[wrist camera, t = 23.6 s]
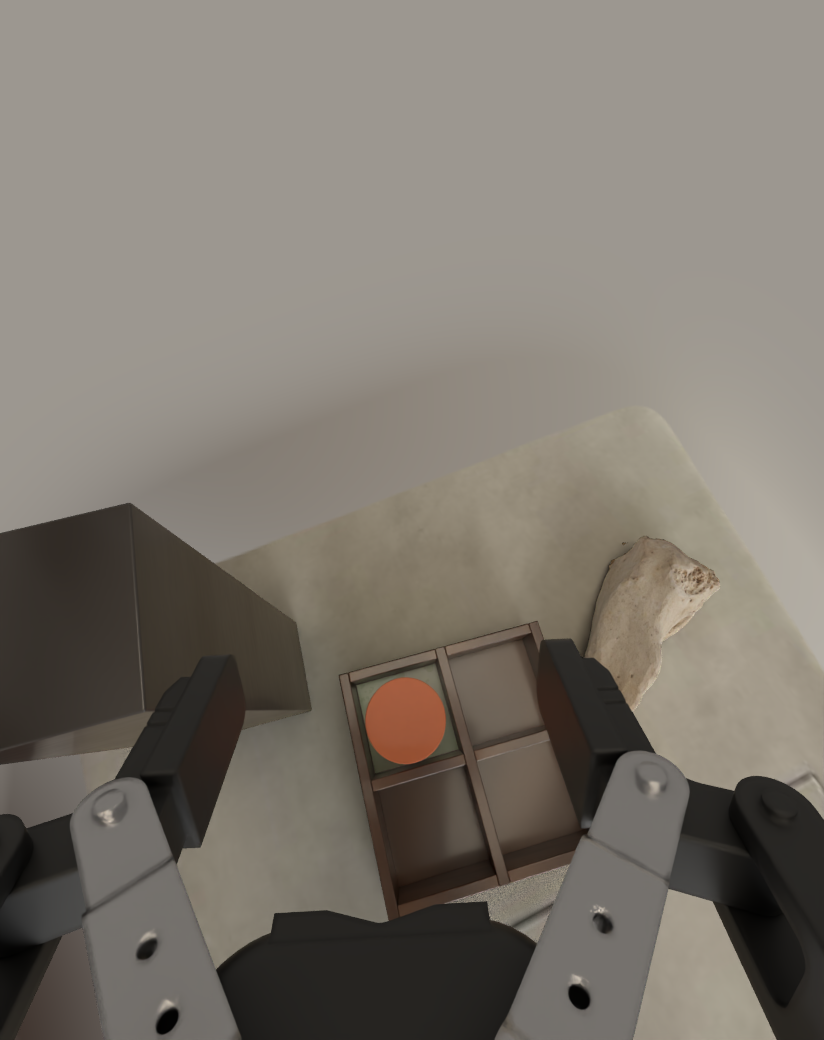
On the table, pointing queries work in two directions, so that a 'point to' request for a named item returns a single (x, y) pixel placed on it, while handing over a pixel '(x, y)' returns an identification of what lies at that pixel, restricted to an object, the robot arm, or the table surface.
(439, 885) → the grid
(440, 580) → the table surface
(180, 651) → the stand
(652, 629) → the bone fragment
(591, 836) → the robot arm
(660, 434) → the table surface
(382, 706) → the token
